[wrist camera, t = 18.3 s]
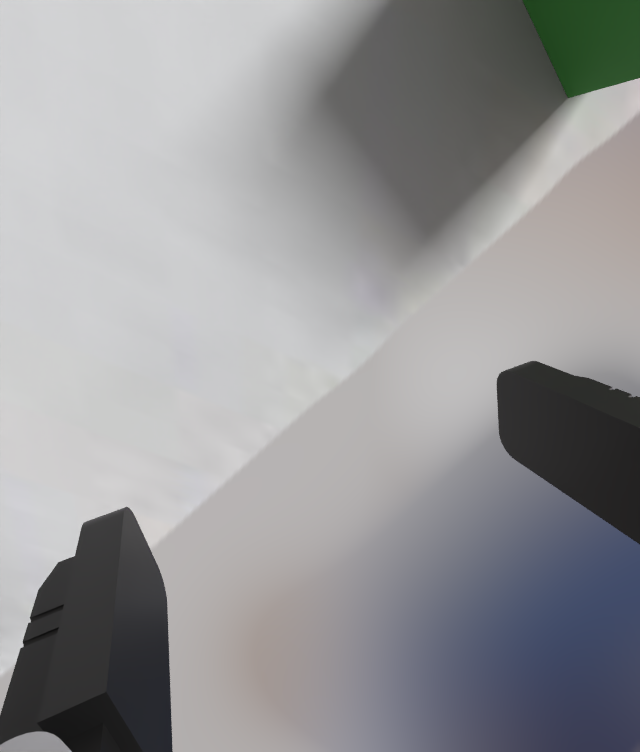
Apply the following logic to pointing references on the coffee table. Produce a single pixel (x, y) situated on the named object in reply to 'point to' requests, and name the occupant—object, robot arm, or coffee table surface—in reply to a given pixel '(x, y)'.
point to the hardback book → (589, 41)
